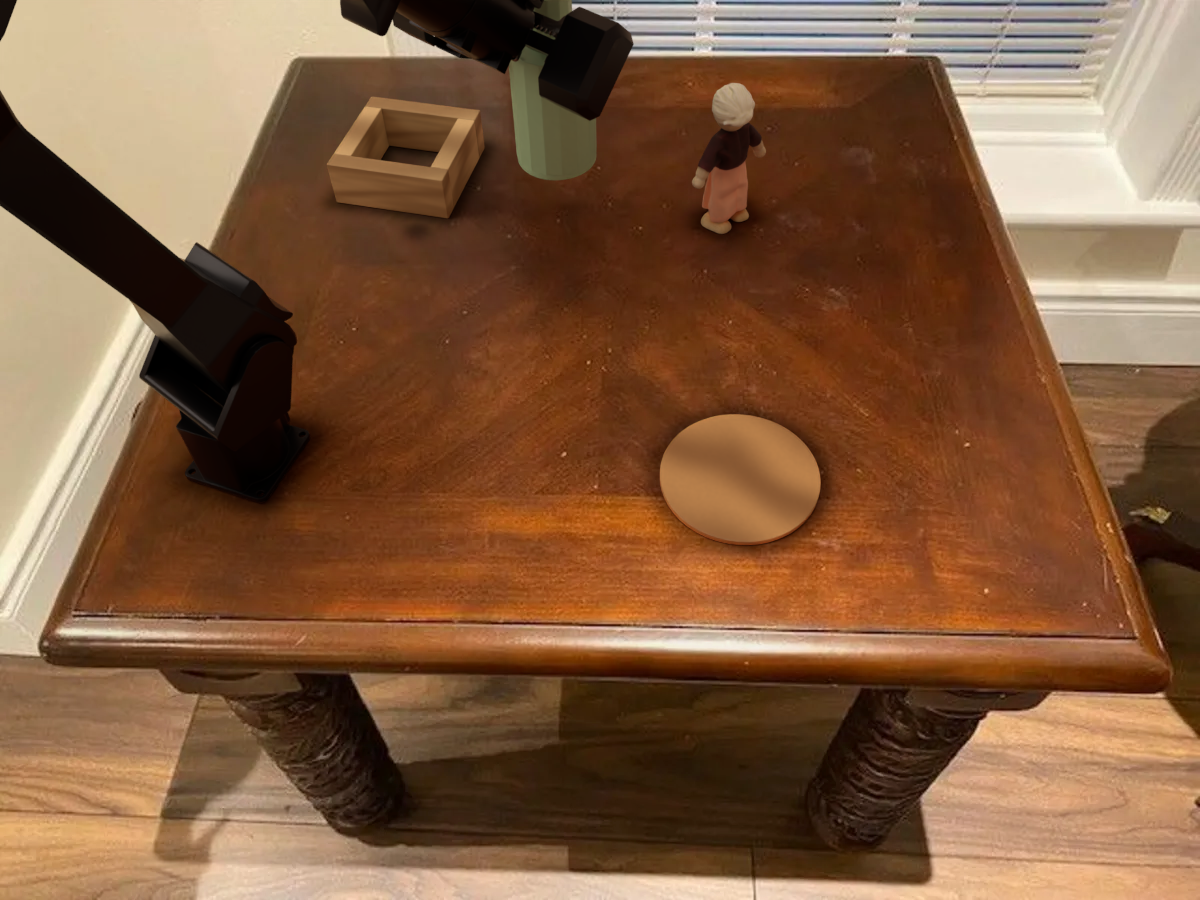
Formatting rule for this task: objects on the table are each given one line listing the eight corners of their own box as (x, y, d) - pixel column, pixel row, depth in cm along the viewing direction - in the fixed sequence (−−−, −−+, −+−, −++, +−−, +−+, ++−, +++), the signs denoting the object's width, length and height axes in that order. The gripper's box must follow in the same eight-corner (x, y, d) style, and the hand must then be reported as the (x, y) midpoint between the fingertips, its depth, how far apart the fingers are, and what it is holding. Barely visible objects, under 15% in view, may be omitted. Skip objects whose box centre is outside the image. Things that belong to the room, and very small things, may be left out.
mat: (798, 565, 67) (799, 562, 67) (637, 517, 69) (637, 514, 69) (835, 441, 73) (836, 437, 73) (687, 401, 76) (687, 397, 75)
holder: (448, 218, 89) (442, 180, 86) (336, 202, 91) (326, 164, 88) (485, 147, 95) (480, 109, 92) (379, 133, 97) (371, 96, 94)
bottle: (554, 191, 81) (544, 22, 70) (501, 156, 84) (484, -12, 73) (612, 156, 84) (612, -12, 73) (560, 123, 87) (551, -43, 76)
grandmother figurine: (728, 189, 91) (741, 57, 81) (765, 206, 89) (782, 74, 79) (676, 234, 87) (683, 102, 77) (713, 253, 86) (725, 120, 76)
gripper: (614, -99, 60) (713, 7, 73) (392, -179, 67) (520, -69, 81) (532, 83, 62) (642, 153, 76) (327, -13, 70) (461, 66, 83)
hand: (565, 69), depth 79 cm, fingers closed on bottle, 6 cm apart
